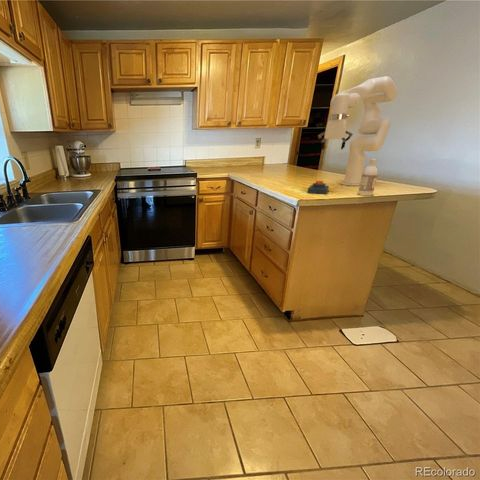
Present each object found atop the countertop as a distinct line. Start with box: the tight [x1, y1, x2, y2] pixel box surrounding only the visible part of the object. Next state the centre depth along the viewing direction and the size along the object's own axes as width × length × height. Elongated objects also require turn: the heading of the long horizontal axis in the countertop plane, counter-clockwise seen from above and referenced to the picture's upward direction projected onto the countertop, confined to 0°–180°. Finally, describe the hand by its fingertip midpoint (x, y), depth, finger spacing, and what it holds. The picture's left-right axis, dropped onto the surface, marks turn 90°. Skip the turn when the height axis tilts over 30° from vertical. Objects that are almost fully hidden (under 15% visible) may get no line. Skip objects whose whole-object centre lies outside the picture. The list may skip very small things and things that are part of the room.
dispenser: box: [307, 182, 330, 195], centre depth 166 cm, size 13×10×5 cm
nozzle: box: [315, 180, 324, 184], centre depth 165 cm, size 4×4×2 cm
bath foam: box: [357, 158, 379, 196], centre depth 151 cm, size 7×7×20 cm
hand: (332, 149), depth 158 cm, fingers open, 9 cm apart
